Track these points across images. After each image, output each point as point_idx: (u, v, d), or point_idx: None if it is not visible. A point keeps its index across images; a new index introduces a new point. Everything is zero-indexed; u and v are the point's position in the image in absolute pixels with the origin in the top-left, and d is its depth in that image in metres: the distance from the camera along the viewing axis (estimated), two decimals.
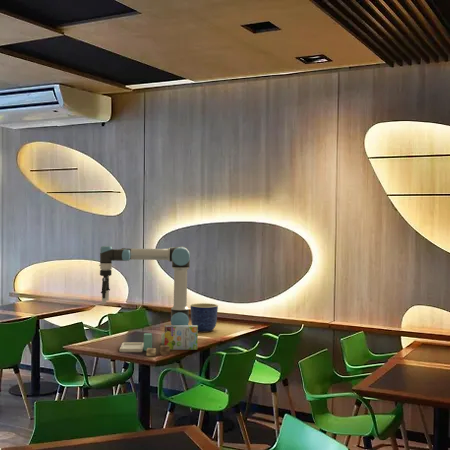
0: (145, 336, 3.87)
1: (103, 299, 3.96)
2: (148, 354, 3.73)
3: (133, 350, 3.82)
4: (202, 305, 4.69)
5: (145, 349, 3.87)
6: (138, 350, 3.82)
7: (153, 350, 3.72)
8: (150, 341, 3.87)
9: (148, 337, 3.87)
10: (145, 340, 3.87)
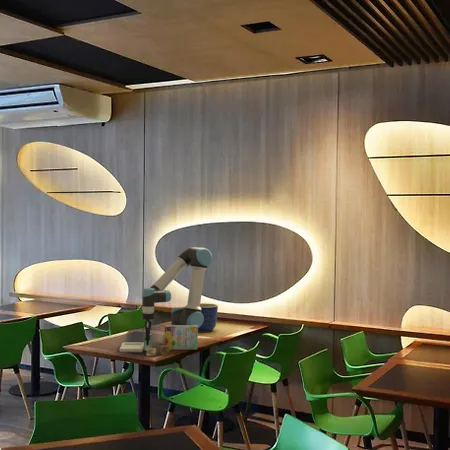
0: (145, 336, 3.87)
1: (146, 346, 3.86)
2: (148, 354, 3.73)
3: (133, 350, 3.82)
4: (202, 305, 4.69)
5: None
6: (138, 350, 3.82)
7: (153, 350, 3.72)
8: (150, 341, 3.87)
9: None
10: None
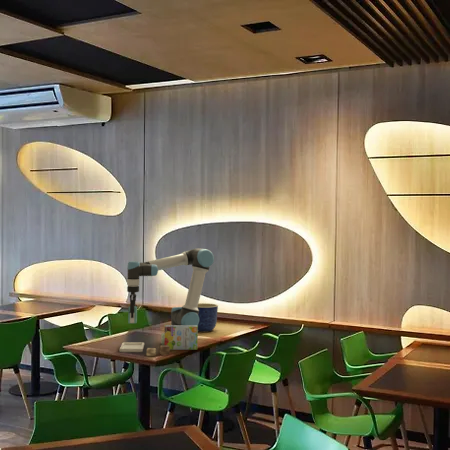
0: None
1: (131, 319, 3.88)
2: (148, 354, 3.73)
3: (133, 350, 3.82)
4: (202, 305, 4.69)
5: None
6: (138, 350, 3.82)
7: (153, 350, 3.72)
8: (135, 314, 3.89)
9: None
10: None
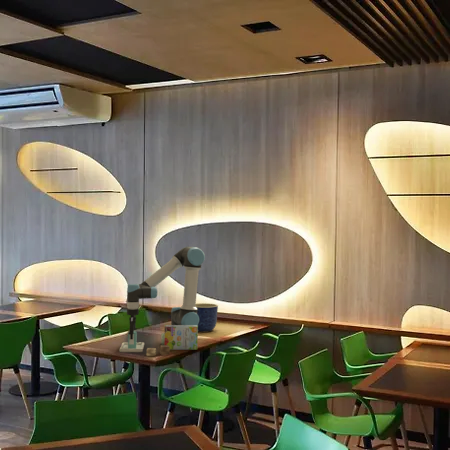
0: None
1: (131, 340, 3.85)
2: (148, 354, 3.73)
3: (133, 350, 3.82)
4: (202, 305, 4.69)
5: (129, 347, 3.89)
6: (138, 350, 3.82)
7: (153, 350, 3.72)
8: (134, 339, 3.89)
9: None
10: None
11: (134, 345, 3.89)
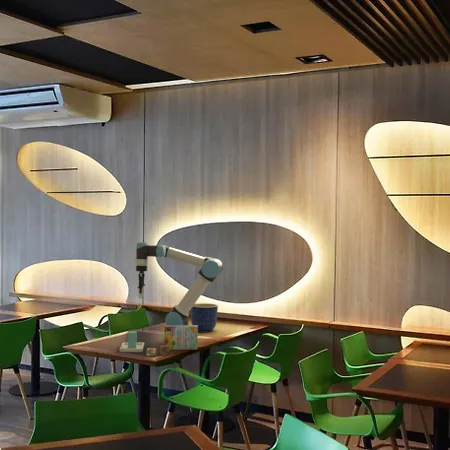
0: (129, 334, 3.89)
1: (140, 294, 4.03)
2: (148, 354, 3.73)
3: (133, 350, 3.82)
4: (202, 305, 4.69)
5: (129, 347, 3.89)
6: (138, 350, 3.82)
7: (153, 350, 3.72)
8: (134, 339, 3.89)
9: (133, 335, 3.89)
10: (129, 338, 3.89)
11: (134, 345, 3.89)
